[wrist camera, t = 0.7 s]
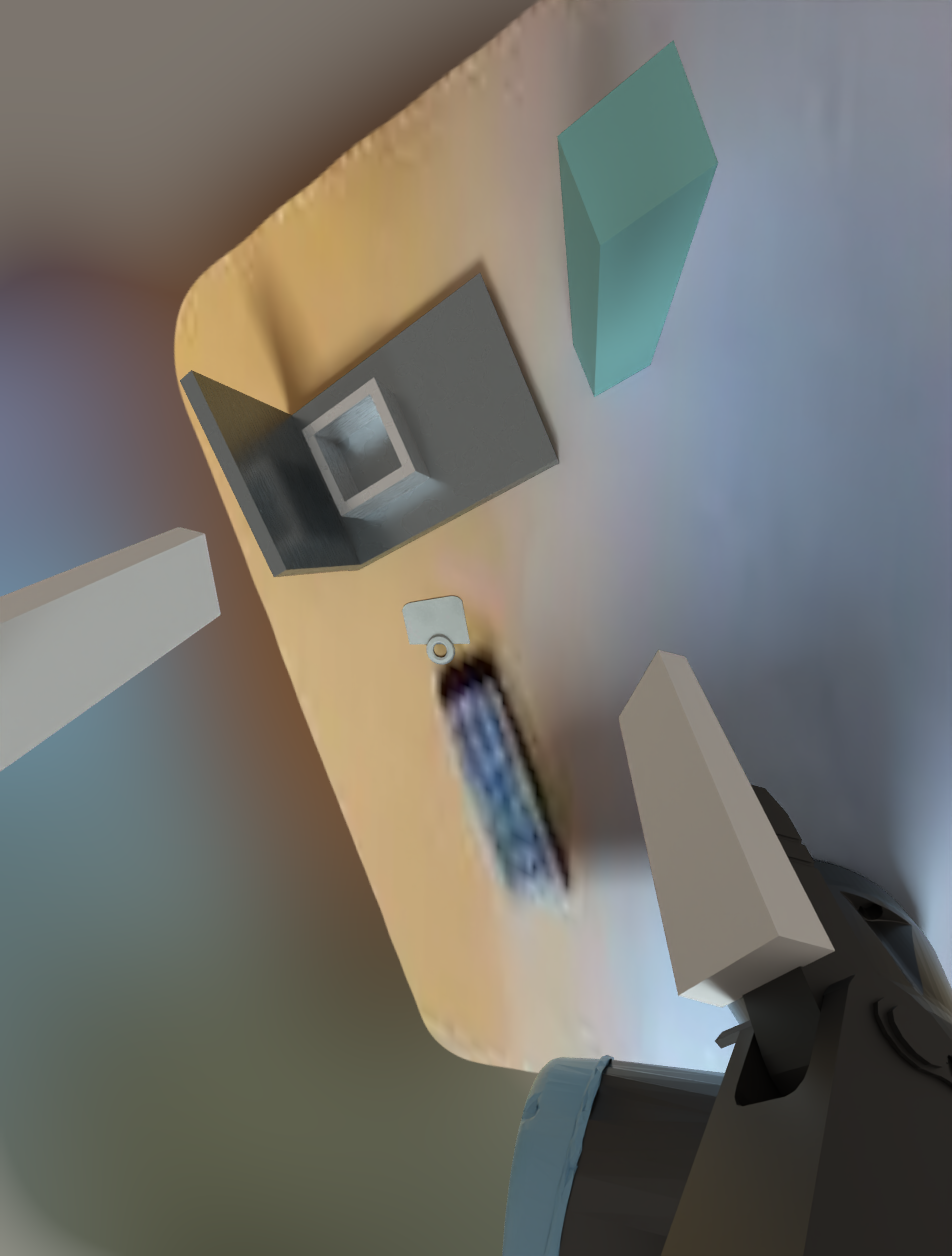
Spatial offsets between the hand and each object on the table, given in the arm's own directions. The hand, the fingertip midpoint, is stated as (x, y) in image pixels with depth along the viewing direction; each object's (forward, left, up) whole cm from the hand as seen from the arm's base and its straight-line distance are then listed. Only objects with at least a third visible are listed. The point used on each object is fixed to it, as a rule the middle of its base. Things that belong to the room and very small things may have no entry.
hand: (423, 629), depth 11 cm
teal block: (+12, -12, -22) cm, 28 cm away
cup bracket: (+14, +4, -22) cm, 26 cm away
